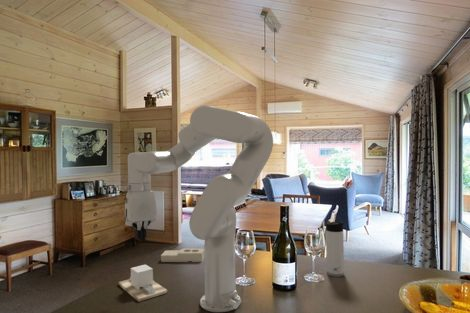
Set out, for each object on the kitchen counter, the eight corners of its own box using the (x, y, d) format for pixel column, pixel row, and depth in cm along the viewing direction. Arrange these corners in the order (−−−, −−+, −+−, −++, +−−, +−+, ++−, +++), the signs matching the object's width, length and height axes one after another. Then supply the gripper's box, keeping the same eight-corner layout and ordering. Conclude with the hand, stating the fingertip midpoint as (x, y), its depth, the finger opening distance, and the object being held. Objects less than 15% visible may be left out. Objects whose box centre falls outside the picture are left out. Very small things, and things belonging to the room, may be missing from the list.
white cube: (153, 285, 113) (152, 268, 113) (138, 290, 110) (137, 272, 110) (145, 280, 118) (145, 264, 118) (130, 284, 115) (130, 267, 115)
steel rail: (155, 292, 108) (155, 289, 108) (148, 294, 107) (148, 291, 107) (136, 278, 121) (136, 275, 121) (129, 280, 119) (129, 277, 119)
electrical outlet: (165, 248, 149) (204, 248, 148) (165, 257, 149) (204, 257, 148) (160, 253, 142) (201, 253, 141) (161, 262, 142) (202, 262, 141)
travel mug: (339, 278, 119) (338, 224, 119) (323, 273, 124) (322, 221, 124) (347, 274, 123) (347, 221, 123) (332, 269, 128) (331, 219, 128)
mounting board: (167, 292, 110) (167, 289, 110) (138, 301, 104) (138, 298, 104) (144, 277, 124) (144, 274, 124) (118, 284, 118) (118, 282, 118)
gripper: (122, 190, 106) (124, 247, 106) (164, 186, 115) (165, 238, 116) (114, 189, 112) (116, 242, 112) (155, 185, 121) (156, 234, 121)
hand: (141, 240), depth 114 cm, fingers closed
